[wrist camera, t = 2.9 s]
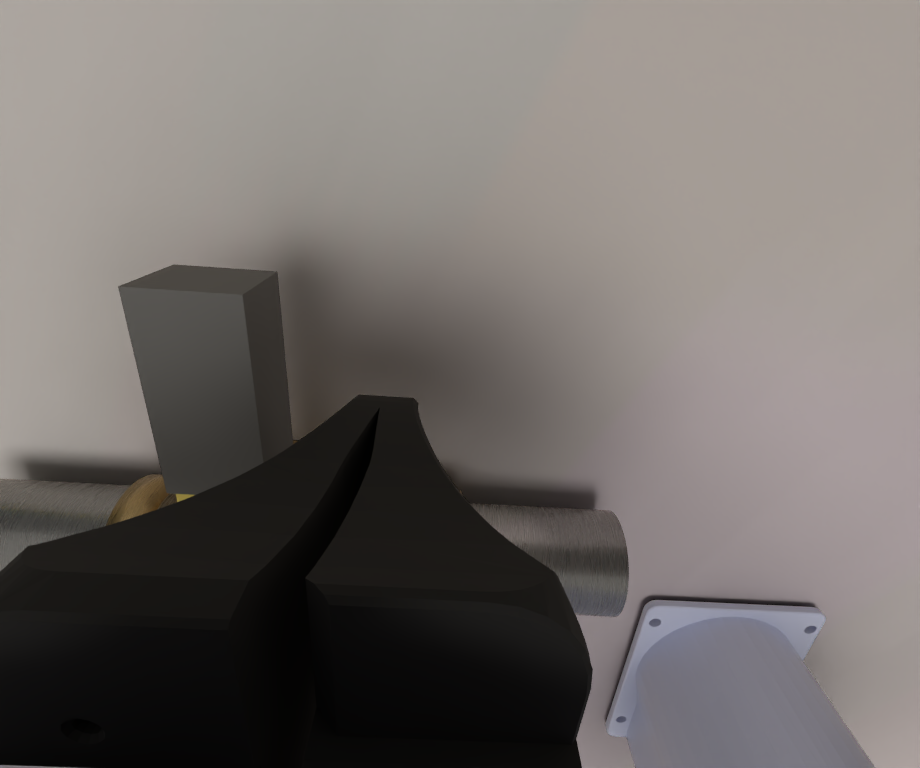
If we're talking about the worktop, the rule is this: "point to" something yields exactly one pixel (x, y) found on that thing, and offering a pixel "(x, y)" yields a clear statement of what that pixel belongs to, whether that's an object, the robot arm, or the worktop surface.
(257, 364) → the lever
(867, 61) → the worktop surface
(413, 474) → the robot arm
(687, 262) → the worktop surface
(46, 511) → the valve body
